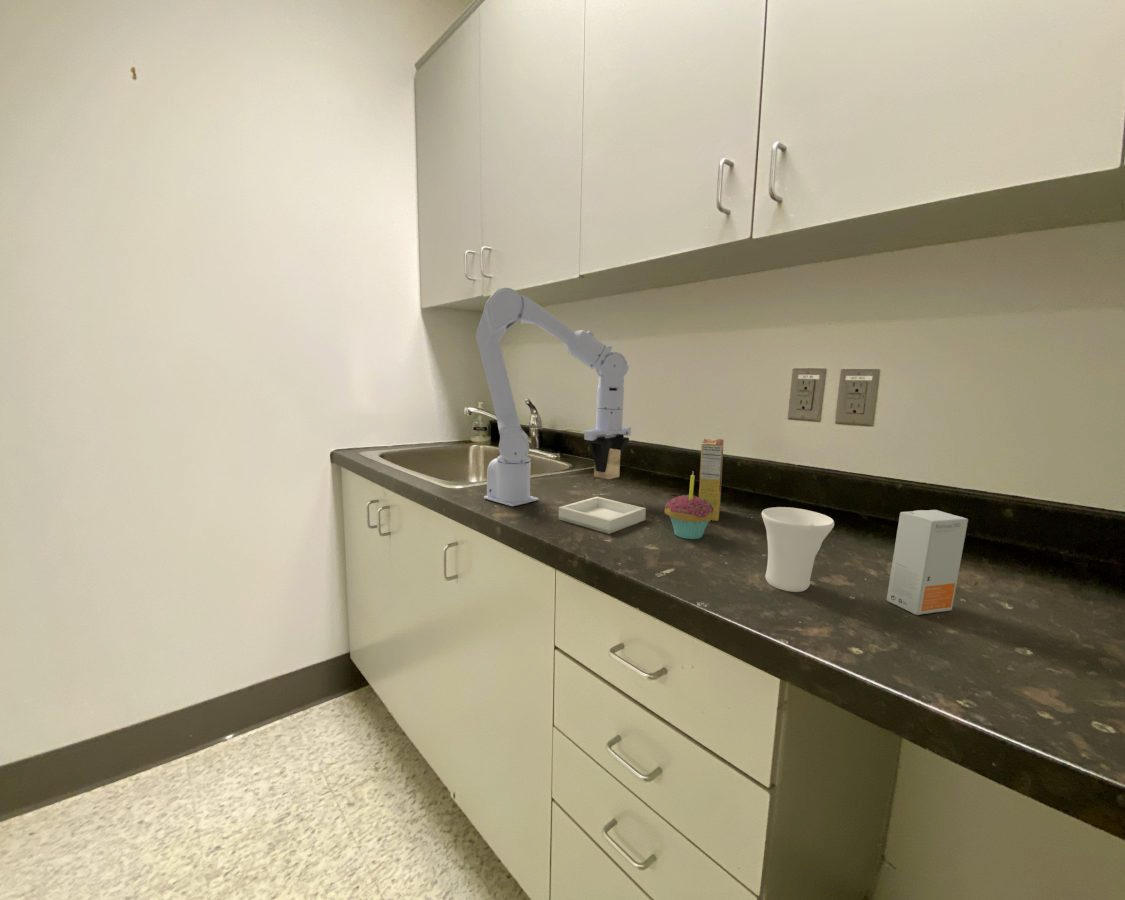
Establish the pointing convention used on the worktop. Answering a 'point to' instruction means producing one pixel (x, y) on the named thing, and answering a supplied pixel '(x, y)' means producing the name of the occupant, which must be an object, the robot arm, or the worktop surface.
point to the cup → (793, 545)
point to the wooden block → (610, 465)
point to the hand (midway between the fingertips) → (606, 470)
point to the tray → (602, 514)
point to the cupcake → (689, 514)
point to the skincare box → (926, 561)
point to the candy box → (711, 473)
